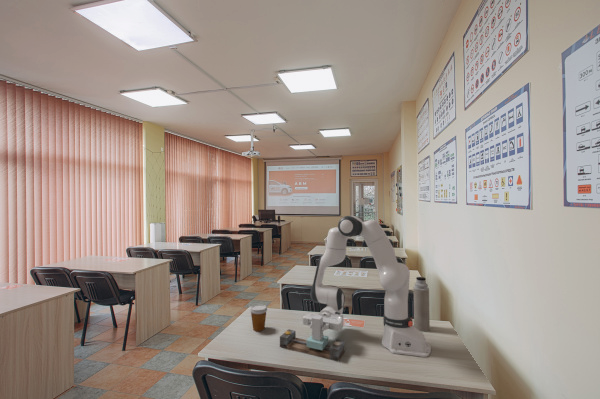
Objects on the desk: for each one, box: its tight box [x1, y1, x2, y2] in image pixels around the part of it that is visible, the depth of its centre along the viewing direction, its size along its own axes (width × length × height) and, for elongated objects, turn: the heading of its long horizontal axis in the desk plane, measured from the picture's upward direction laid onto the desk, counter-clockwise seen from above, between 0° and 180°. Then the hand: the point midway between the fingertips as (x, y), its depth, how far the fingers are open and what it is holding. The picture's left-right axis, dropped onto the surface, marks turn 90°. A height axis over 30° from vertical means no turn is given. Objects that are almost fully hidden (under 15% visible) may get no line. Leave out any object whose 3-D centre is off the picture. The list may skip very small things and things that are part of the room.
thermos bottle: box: [412, 276, 431, 332], centre depth 160 cm, size 8×8×28 cm
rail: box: [279, 328, 346, 362], centre depth 138 cm, size 30×9×6 cm, turn 64°
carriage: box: [305, 315, 330, 350], centre depth 137 cm, size 8×8×13 cm
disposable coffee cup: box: [249, 304, 268, 332], centre depth 162 cm, size 10×10×12 cm
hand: (316, 328), depth 136 cm, fingers closed on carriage, 4 cm apart
